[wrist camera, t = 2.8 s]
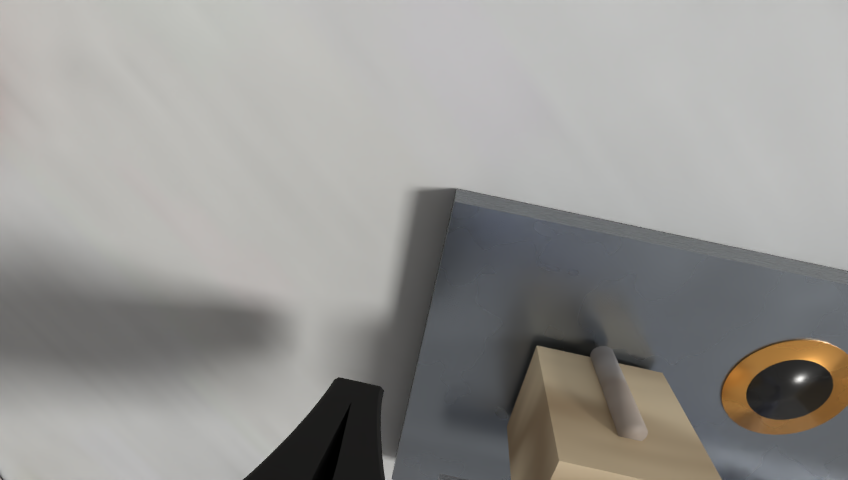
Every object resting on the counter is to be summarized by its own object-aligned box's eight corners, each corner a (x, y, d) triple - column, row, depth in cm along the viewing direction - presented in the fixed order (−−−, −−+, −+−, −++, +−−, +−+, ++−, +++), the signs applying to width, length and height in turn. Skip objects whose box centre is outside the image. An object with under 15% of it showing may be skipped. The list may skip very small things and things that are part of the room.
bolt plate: (1038, 598, 18) (1077, 637, 17) (396, 453, 19) (391, 481, 18) (1352, 377, 13) (1439, 411, 12) (456, 188, 14) (454, 203, 12)
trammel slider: (620, 451, 15) (667, 587, 12) (506, 426, 15) (516, 553, 12) (669, 359, 14) (745, 483, 10) (541, 331, 14) (567, 444, 10)
